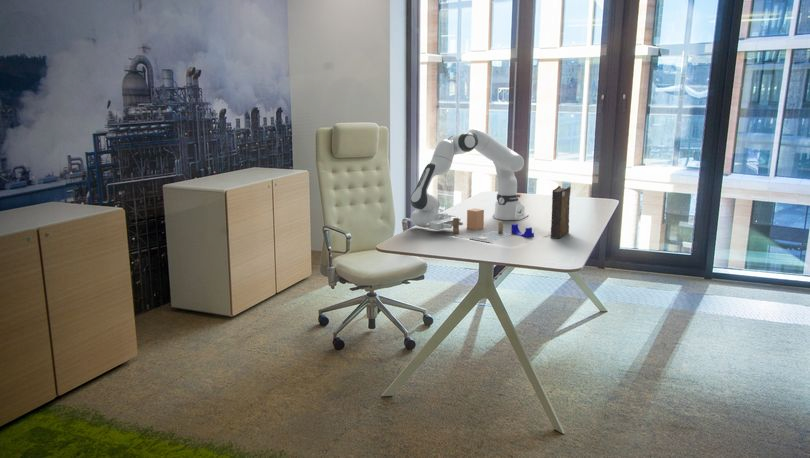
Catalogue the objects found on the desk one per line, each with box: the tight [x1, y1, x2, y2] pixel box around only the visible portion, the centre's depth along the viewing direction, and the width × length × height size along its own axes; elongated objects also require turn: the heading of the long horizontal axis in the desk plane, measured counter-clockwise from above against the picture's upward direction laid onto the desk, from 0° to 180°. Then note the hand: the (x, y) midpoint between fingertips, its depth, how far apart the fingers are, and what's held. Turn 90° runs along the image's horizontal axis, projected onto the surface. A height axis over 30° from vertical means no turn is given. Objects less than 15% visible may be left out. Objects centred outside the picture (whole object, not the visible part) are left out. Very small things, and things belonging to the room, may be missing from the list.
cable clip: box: [510, 223, 535, 239], centre depth 330 cm, size 12×4×6 cm, turn 33°
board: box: [469, 220, 513, 244], centre depth 329 cm, size 22×12×7 cm, turn 138°
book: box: [550, 185, 571, 239], centre depth 331 cm, size 17×7×25 cm, turn 146°
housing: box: [466, 208, 485, 231], centre depth 346 cm, size 6×6×11 cm
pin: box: [452, 217, 460, 237], centre depth 334 cm, size 3×3×9 cm
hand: (456, 225), depth 333 cm, fingers open, 8 cm apart
